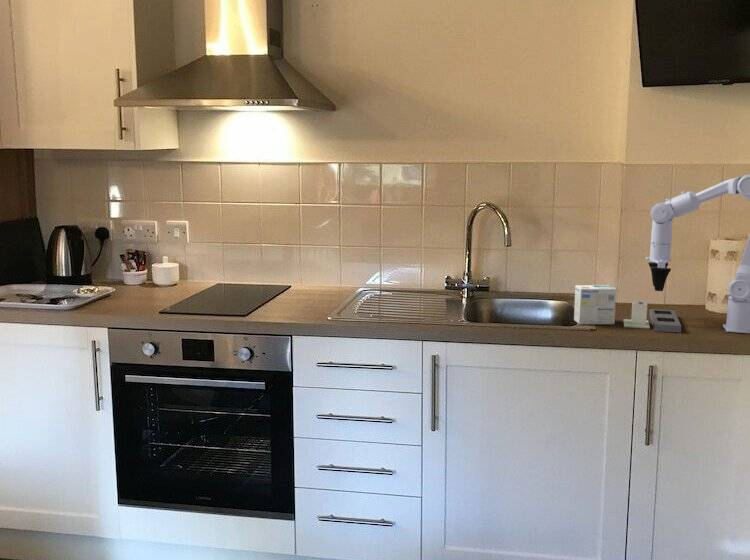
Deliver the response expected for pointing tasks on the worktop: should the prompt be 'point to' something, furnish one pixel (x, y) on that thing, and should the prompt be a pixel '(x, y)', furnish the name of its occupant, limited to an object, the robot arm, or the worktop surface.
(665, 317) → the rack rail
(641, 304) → the white block
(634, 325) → the mat
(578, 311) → the light bulb box
